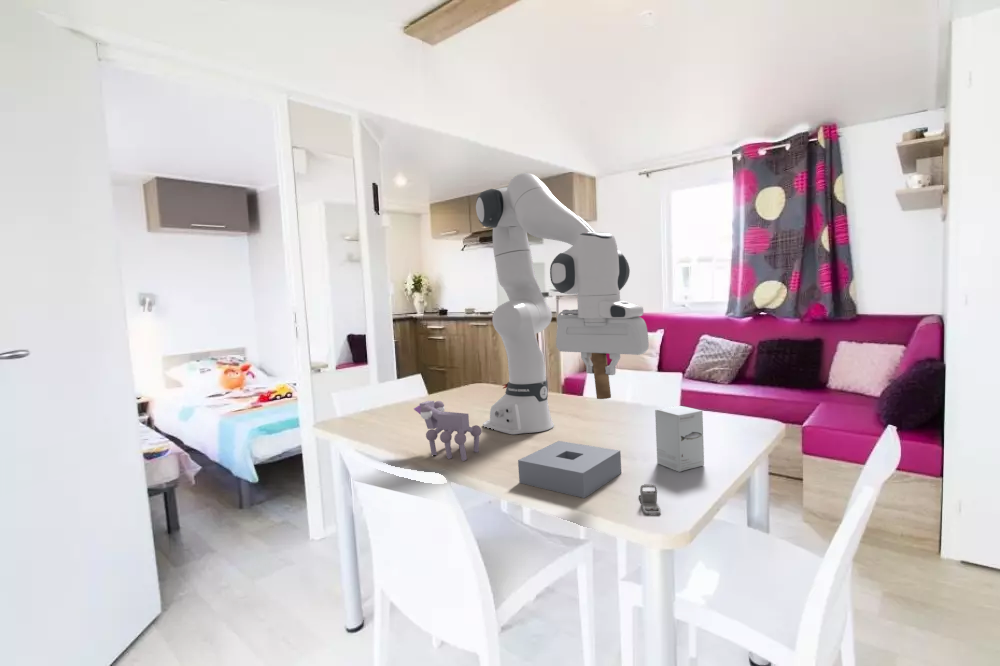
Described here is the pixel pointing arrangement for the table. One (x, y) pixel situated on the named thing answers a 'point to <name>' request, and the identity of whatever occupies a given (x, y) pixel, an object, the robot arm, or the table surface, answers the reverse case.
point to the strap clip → (649, 500)
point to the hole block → (570, 468)
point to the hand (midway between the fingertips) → (601, 373)
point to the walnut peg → (601, 376)
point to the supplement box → (679, 437)
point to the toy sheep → (447, 427)
